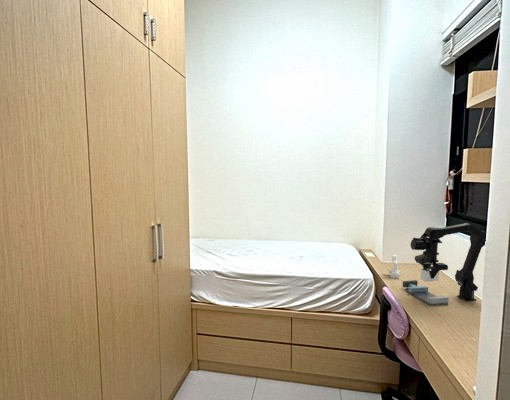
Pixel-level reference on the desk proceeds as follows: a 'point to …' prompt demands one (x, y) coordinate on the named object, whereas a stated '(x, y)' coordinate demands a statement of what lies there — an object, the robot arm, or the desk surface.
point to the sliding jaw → (414, 286)
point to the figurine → (394, 268)
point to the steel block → (428, 275)
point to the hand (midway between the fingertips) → (429, 277)
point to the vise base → (424, 296)
